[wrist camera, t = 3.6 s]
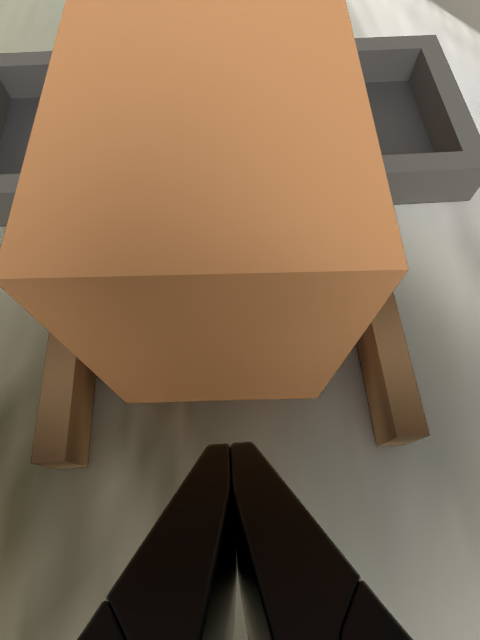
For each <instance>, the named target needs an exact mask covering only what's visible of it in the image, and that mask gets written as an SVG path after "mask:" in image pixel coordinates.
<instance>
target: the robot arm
mask: <svg viewBox="0 0 480 640" xmlns="http://www.w3.org/2000/svg"><path fill="white" fill-rule="evenodd" d="M230 449H231V451H230ZM236 554H237V558H236ZM237 568H238V578H239V585H240V592H241V598H242V604H243V610H244V616H245V622H246V628H247V634H248V640H413V639H412V638H411V637H410V636H409V634H408V633H407V632H406V631H405V630H404V629H403V627H402V626H401V625H400V624H399V623H398V622H397V620H396V619H395V618H394V617H393V616H392V614H391V613H390V612H389V611H388V610H387V609H386V607H385V606H384V605H383V604H382V603H381V601H380V600H379V599H378V598H377V596H376V595H375V594H374V593H373V591H372V590H371V589H370V588H369V586H368V585H367V584H366V582H365V581H361V578H360V575H359V574H358V573H357V572H356V570H355V569H354V568H353V567H352V565H351V564H350V563H349V562H348V560H347V559H346V558H345V557H344V555H343V554H342V553H341V552H340V551H339V549H338V548H337V547H336V546H335V544H334V543H333V542H332V541H331V539H330V538H329V537H328V536H327V534H326V533H325V532H324V531H323V529H322V528H321V527H320V526H319V524H318V523H317V522H316V521H315V519H314V518H313V517H312V516H311V514H310V513H309V512H308V511H307V509H306V508H305V507H304V506H303V504H302V503H301V502H300V501H299V499H298V498H297V497H296V496H295V494H294V493H293V492H292V491H291V489H290V488H289V487H288V486H287V485H286V483H285V482H284V481H283V480H282V478H281V477H280V476H279V475H278V473H277V472H276V471H275V470H274V468H273V467H272V466H271V465H270V463H269V462H268V461H267V460H266V458H265V457H264V456H263V455H262V453H261V452H260V451H259V450H258V448H257V447H256V446H255V445H254V444H253V443H252V442H242V443H233V444H232V445H231V448H230V446H229V445H228V444H213V445H208V446H207V447H206V449H205V450H204V452H203V453H202V455H201V456H200V458H199V459H198V461H197V462H196V464H195V465H194V467H193V468H192V470H191V471H190V473H189V474H188V476H187V477H186V478H185V480H184V481H183V483H182V484H181V486H180V487H179V489H178V490H177V492H176V493H175V495H174V496H173V498H172V499H171V501H170V502H169V504H168V505H167V507H166V508H165V510H164V511H163V513H162V514H161V516H160V517H159V519H158V520H157V522H156V523H155V525H154V526H153V528H152V529H151V531H150V532H149V534H148V535H147V537H146V538H145V540H144V541H143V543H142V544H141V546H140V547H139V549H138V550H137V552H136V553H135V555H134V556H133V558H132V559H131V561H130V562H129V564H128V565H127V567H126V568H125V570H124V571H123V573H122V574H121V576H120V577H119V579H118V580H117V582H116V583H115V585H114V586H113V588H112V589H111V591H110V592H109V594H108V595H107V597H106V600H107V601H104V602H102V603H101V605H100V606H99V608H98V609H97V611H96V613H95V614H94V616H93V617H92V619H91V620H90V622H89V623H88V625H87V626H86V628H85V629H84V630H83V632H82V633H81V635H80V636H79V637H78V639H77V640H233V633H234V618H235V602H236V584H237Z"/></svg>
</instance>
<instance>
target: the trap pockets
mask: <svg viewBox="0 0 480 640" xmlns="http://www.w3.org/2000/svg"><path fill="white" fill-rule="evenodd" d="M354 39H355V43H356V47H357V52H358V56H359V60H360V65H361V69H362V73H363V77H364V82H365V86H366V90H367V95H368V99H369V103H370V107H371V112H372V116H373V120H374V125H375V129H376V133H377V137H378V142H379V146H380V150H381V155H382V159H383V163H384V167H385V172H386V176H387V180H388V185H389V189H390V193H391V197H392V202H393V205H396V204H414V203H432V202H451V201H469V200H470V199H471V198H472V196H473V195H474V194H475V192H476V191H477V190H478V188H479V187H480V135H479V132H478V130H477V128H476V126H475V123H474V121H473V119H472V116H471V114H470V112H469V110H468V107H467V105H466V103H465V100H464V98H463V96H462V94H461V91H460V89H459V87H458V85H457V82H456V80H455V78H454V75H453V73H452V71H451V69H450V66H449V64H448V62H447V59H446V57H445V55H444V53H443V50H442V48H441V46H440V43H439V41H438V39H437V37H436V35H421V36H398V37H374V38H354ZM51 55H52V51H45V52H22V53H0V226H7V223H8V219H9V215H10V211H11V207H12V204H13V200H14V196H15V192H16V188H17V185H18V181H19V177H20V173H21V169H22V166H23V162H24V158H25V154H26V150H27V147H28V143H29V139H30V135H31V131H32V127H33V124H34V120H35V116H36V112H37V108H38V105H39V101H40V97H41V93H42V89H43V86H44V82H45V78H46V74H47V70H48V67H49V63H50V59H51Z"/></svg>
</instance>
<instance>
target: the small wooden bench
mask: <svg viewBox="0 0 480 640" xmlns="http://www.w3.org/2000/svg"><path fill="white" fill-rule="evenodd" d="M357 348H358V353H359V358H360V363H361V368H362V373H363V378H364V383H365V388H366V393H367V398H368V403H369V408H370V413H371V418H372V423H373V428H374V433H375V438H376V443H377V447H379V446H393V445H406V444H408V443H411V442H414V441H416V440H419V439H421V438H424V437H427V436H429V435H430V434H429V430H428V426H427V422H426V418H425V414H424V411H423V407H422V403H421V399H420V395H419V391H418V387H417V383H416V379H415V375H414V372H413V368H412V364H411V360H410V356H409V352H408V348H407V344H406V340H405V336H404V332H403V329H402V325H401V321H400V317H399V313H398V309H397V305H396V301H395V297H394V293H393V292H392V294H391V295H390V296H389V298H388V299H387V301H386V302H385V303H384V305H383V306H382V308H381V309H380V311H379V312H378V313H377V315H376V316H375V318H374V319H373V320H372V322H371V323H370V325H369V326H368V328H367V329H366V330H365V332H364V333H363V335H362V336H361V337H360V339H359V340H358V342H357ZM94 386H95V373H93V372H92V371H91V370H90V369H89V368H88V367H87V366H86V365H85V364H84V363H83V362H82V361H81V360H79V359H78V358H77V357H76V356H75V355H74V354H73V353H72V352H71V351H70V350H69V349H68V348H66V347H65V346H64V345H63V344H62V343H61V342H60V341H59V340H58V339H57V338H56V337H55V336H53V335H52V334H51V333H50V332H49V336H48V343H47V350H46V357H45V365H44V372H43V379H42V386H41V393H40V400H39V407H38V414H37V422H36V429H35V436H34V443H33V450H32V457H31V463H32V464H36V465H41V466H46V467H50V468H55V469H68V468H82V467H88V457H89V445H90V433H91V422H92V410H93V398H94Z"/></svg>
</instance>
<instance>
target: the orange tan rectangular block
mask: <svg viewBox="0 0 480 640" xmlns="http://www.w3.org/2000/svg"><path fill="white" fill-rule="evenodd" d="M407 271H408V266H407V262H406V257H405V253H404V249H403V244H402V240H401V236H400V232H399V227H398V223H397V219H396V215H395V210H394V206H393V202H392V197H391V193H390V189H389V185H388V180H387V176H386V172H385V167H384V163H383V159H382V155H381V150H380V146H379V142H378V137H377V133H376V129H375V125H374V120H373V116H372V112H371V107H370V103H369V99H368V95H367V90H366V86H365V82H364V77H363V73H362V69H361V65H360V60H359V56H358V52H357V47H356V43H355V39H354V35H353V30H352V26H351V22H350V17H349V13H348V9H347V5H346V0H66V2H65V6H64V10H63V13H62V17H61V21H60V25H59V29H58V32H57V36H56V40H55V44H54V48H53V51H52V55H51V59H50V63H49V67H48V70H47V74H46V78H45V82H44V86H43V89H42V93H41V97H40V101H39V105H38V108H37V112H36V116H35V120H34V124H33V127H32V131H31V135H30V139H29V143H28V147H27V150H26V154H25V158H24V162H23V166H22V169H21V173H20V177H19V181H18V185H17V188H16V192H15V196H14V200H13V204H12V207H11V211H10V215H9V219H8V223H7V226H6V230H5V234H4V238H3V242H2V245H1V249H0V286H1V287H2V288H3V289H4V290H5V291H6V292H7V293H8V294H9V295H10V296H11V297H12V298H13V299H15V300H16V301H17V302H18V303H19V304H20V305H21V306H22V307H23V308H24V309H25V310H26V311H28V312H29V313H30V314H31V315H32V316H33V317H34V318H35V319H36V320H37V321H38V322H39V323H41V324H42V325H43V326H44V327H45V328H46V329H47V330H48V331H49V332H50V333H51V334H52V335H53V336H55V337H56V338H57V339H58V340H59V341H60V342H61V343H62V344H63V345H64V346H65V347H66V348H68V349H69V350H70V351H71V352H72V353H73V354H74V355H75V356H76V357H77V358H78V359H79V360H81V361H82V362H83V363H84V364H85V365H86V366H87V367H88V368H89V369H90V370H91V371H92V372H93V373H95V374H96V375H97V376H98V377H99V378H100V379H101V380H102V381H103V382H104V383H105V384H106V385H108V386H109V387H110V388H111V389H112V390H113V391H114V392H115V393H116V394H117V395H118V396H119V397H120V398H122V399H123V400H124V401H125V402H126V403H147V402H185V401H222V400H260V399H297V398H318V397H319V395H320V394H321V393H322V391H323V390H324V388H325V387H326V386H327V384H328V383H329V381H330V380H331V378H332V377H333V376H334V374H335V373H336V371H337V370H338V369H339V367H340V366H341V364H342V363H343V361H344V360H345V359H346V357H347V356H348V354H349V353H350V352H351V350H352V349H353V347H354V346H355V344H356V343H357V342H358V340H359V339H360V337H361V336H362V335H363V333H364V332H365V330H366V329H367V328H368V326H369V325H370V323H371V322H372V320H373V319H374V318H375V316H376V315H377V313H378V312H379V311H380V309H381V308H382V306H383V305H384V303H385V302H386V301H387V299H388V298H389V296H390V295H391V294H392V292H393V291H394V289H395V288H396V286H397V285H398V284H399V282H400V281H401V279H402V278H403V277H404V275H405V274H406V272H407Z"/></svg>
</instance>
